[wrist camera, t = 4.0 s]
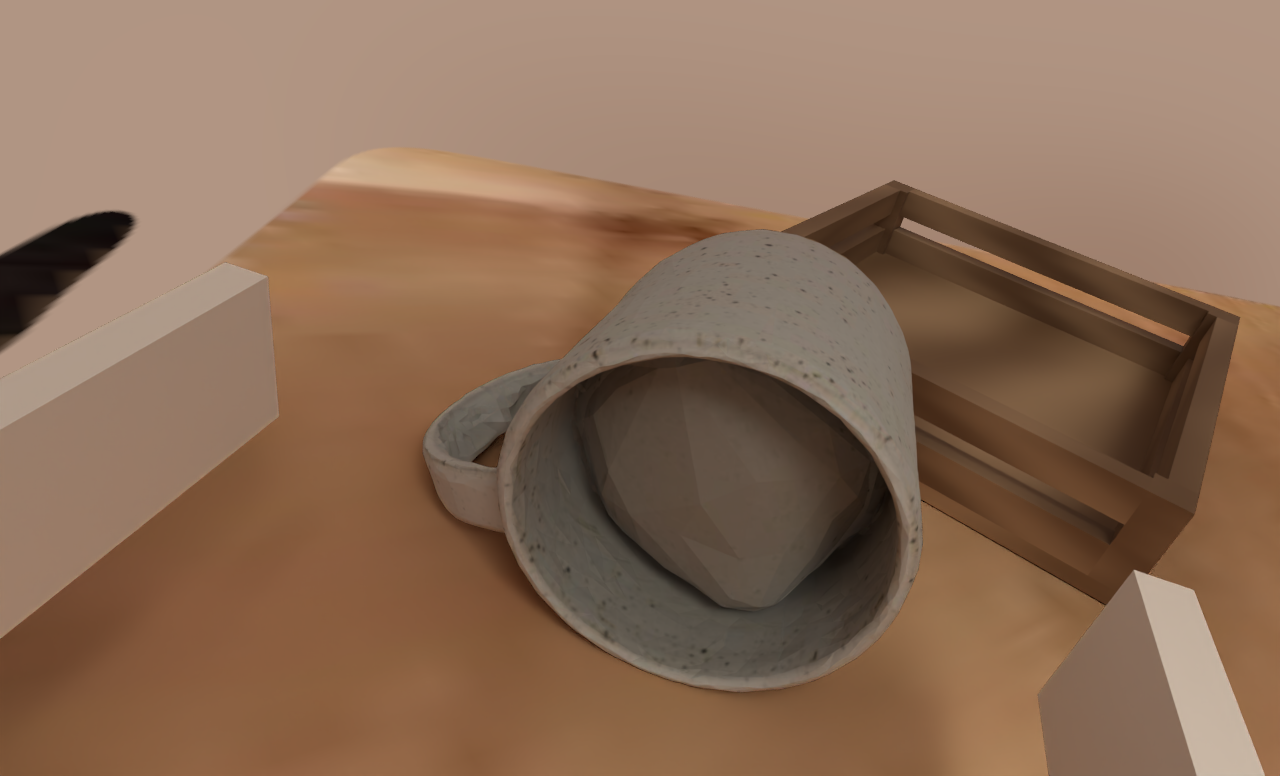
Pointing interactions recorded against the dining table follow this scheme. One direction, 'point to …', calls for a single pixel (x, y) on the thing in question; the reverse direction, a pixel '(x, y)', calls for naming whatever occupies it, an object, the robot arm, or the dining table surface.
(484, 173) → the dining table surface
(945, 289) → the walnut crate
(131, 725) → the dining table surface
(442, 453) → the ceramic mug
